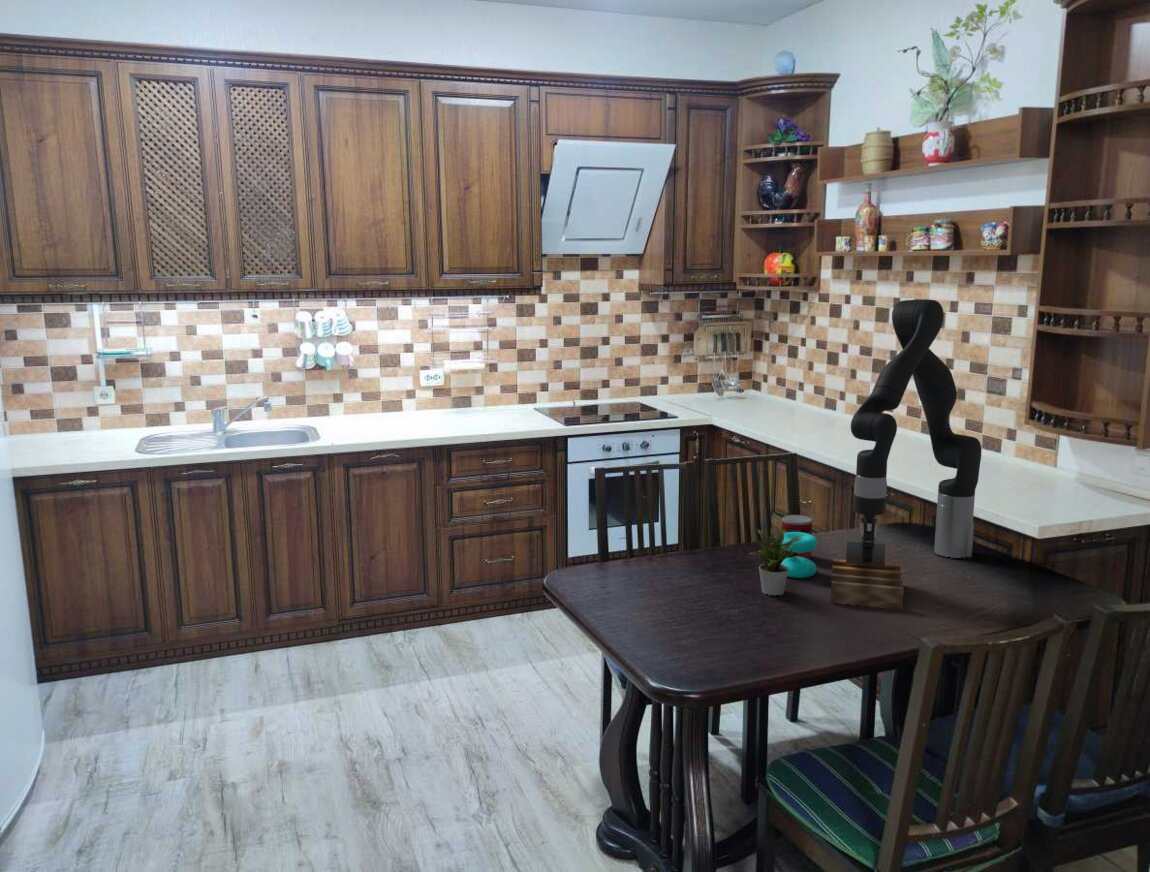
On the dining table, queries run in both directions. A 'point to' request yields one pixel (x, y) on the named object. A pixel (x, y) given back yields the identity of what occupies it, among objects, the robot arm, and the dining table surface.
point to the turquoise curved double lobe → (802, 565)
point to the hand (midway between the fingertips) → (866, 557)
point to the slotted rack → (867, 586)
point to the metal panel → (856, 554)
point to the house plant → (774, 563)
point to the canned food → (797, 529)
